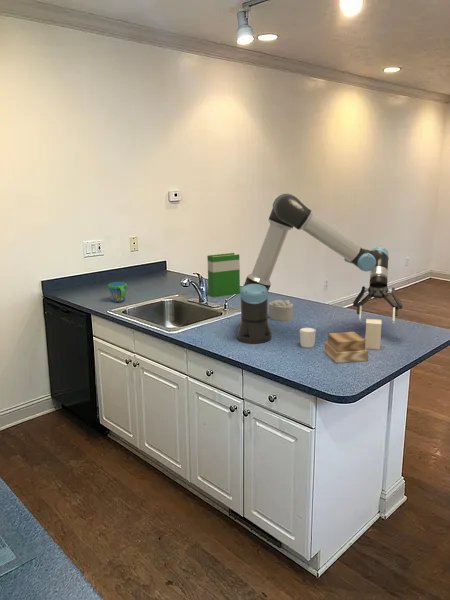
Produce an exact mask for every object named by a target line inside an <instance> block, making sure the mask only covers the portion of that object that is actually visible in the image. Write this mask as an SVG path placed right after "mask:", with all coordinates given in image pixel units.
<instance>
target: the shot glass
mask: <svg viewBox="0 0 450 600" xmlns="http://www.w3.org/2000/svg"><path fill="white" fill-rule="evenodd" d="M316 333H317V329H316V328H313V327H301V328H300V329H299V340H300V347H302V348H314V347H315V341H316Z"/></svg>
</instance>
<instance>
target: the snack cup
mask: <svg viewBox="0 0 450 600" xmlns="http://www.w3.org/2000/svg"><path fill="white" fill-rule="evenodd" d="M107 287H108V289H109V294H110V298H111V301H112V302H114V303H122V302H125V301H126V293H127V292H126V291H127V287H128V284H127V282H124V281H122V282H121V281H120V282H119V281H116V282H111V283H108V285H107Z"/></svg>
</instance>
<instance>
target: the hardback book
mask: <svg viewBox="0 0 450 600" xmlns="http://www.w3.org/2000/svg"><path fill="white" fill-rule="evenodd" d="M206 259H207V286H208V290H207V291H208V295H209V296H210V297H212V298H218V297H226V296H232V295H239V294H241V282H240V281H241V276H240V275H241V274H240V273H241V272H240V271H241V270H240V269H241V268H240V267H241V266H240V264H241V263H240V254H235V252H229V253H221V254H211V255H209V254H208V255H207V258H206Z"/></svg>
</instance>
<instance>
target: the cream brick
mask: <svg viewBox="0 0 450 600" xmlns="http://www.w3.org/2000/svg"><path fill="white" fill-rule="evenodd" d="M365 320H366V321H365V336H364V337H365V338H364V340H365V348H366V349H367V350H381V340H382V339H381V337H382V319H375V318H374V319H373V318H372V319H371V318H366V319H365Z"/></svg>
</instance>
